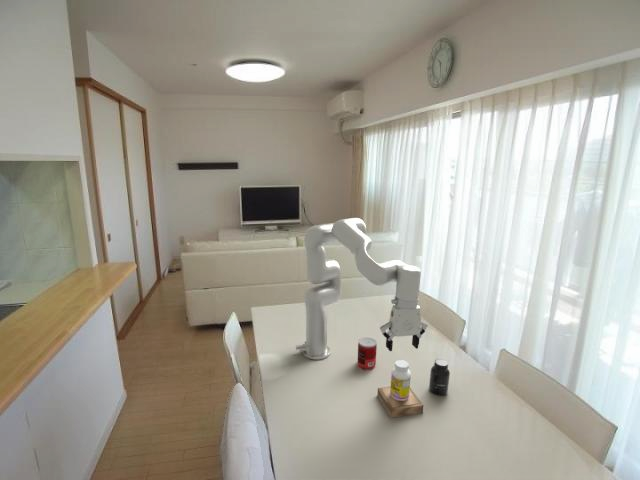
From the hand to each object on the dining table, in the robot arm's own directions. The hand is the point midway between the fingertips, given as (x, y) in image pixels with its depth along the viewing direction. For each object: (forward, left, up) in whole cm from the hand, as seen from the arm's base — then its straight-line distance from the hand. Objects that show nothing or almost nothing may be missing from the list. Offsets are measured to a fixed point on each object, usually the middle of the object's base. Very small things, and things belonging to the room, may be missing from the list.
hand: (402, 347), depth 121 cm
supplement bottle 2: (+18, +4, -22) cm, 29 cm away
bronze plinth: (0, 0, -22) cm, 22 cm away
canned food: (-3, +26, -22) cm, 34 cm away
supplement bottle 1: (0, 0, -19) cm, 19 cm away
